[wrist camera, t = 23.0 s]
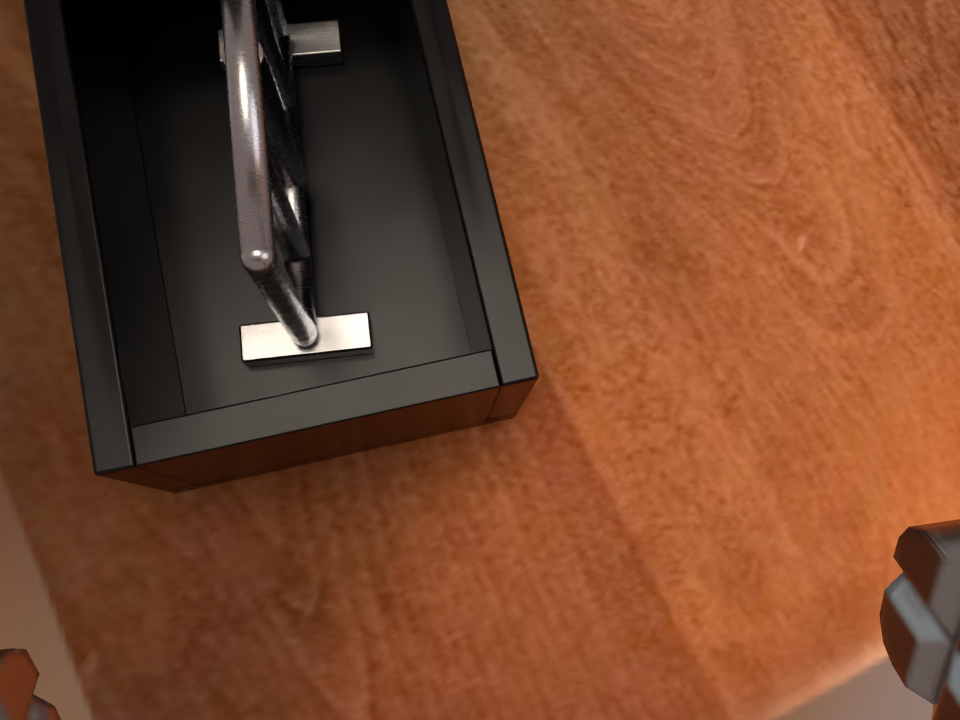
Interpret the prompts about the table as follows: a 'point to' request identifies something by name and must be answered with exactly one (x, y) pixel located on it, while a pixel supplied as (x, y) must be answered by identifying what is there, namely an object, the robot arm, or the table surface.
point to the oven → (332, 241)
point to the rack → (278, 181)
